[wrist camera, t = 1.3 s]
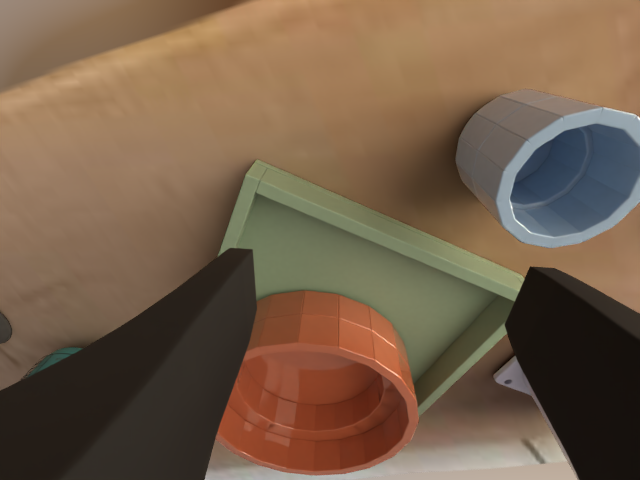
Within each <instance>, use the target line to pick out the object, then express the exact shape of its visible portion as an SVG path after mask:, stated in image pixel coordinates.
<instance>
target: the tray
mask: <svg viewBox="0 0 640 480" xmlns="http://www.w3.org/2000/svg"><path fill="white" fill-rule="evenodd" d="M229 248H243V249H253V259H254V273H255V287H256V300H257V301H258V300H261V299H263V298H265V297H268V296H270V295H273V294H280V293H287V292H294V291H302V290H304V291H305V290H308V291H317V292H326V293H334V294H338V295H342V296H345V297H347V298H350V299H352V300H355V301H358V302H360V303H363V304H366V305H368V306H370V307H371V308H373V309H374V310H375V311H377V312H378V313H379V314H380V315H382V316H383V317H384V318H386V319H387V320H388V321H390V322H391V323H392V324H393V326H394V328H395V329H396V331H397V332H398V334H399V336H400V337H401V339H402V340H403V342H404V344H405V348H406V353H407V358H408V362H409V367H410V371H411V376H412V381H413V385H414V390H415V395H416V399H417V407H418V416H420V415H421V414H422V413H423V412H424V411H426V410H427V409H428V408H429V407H430V406H431V405H432V404H433V403H434V402H435V401H436V400H437V399H438V398H439V397H440V396H441V395H442V394H443V393H444V392H446V391H447V390H448V389H449V388H450V387H451V386H452V385H453V384H454V383H455V382H456V381H457V380H458V379H459V378H460V377H461V376H462V375H463V374H464V373H465V372H467V371H468V370H469V369H470V368H471V367H472V366H473V365H474V364H475V363H476V362H477V361H478V360H479V359H480V358H481V357H482V356H483V355H484V354H485V353H487V352H488V351H489V350H490V349H491V348H492V347H493V346H494V345H495V344H496V343H497V342H498V341H499V340H500V339H501V338H502V337H503V336H504V335H505V334H507V331H506V328H505V322H506V320H507V318H508V316H509V313H510V311H511V309H512V307H513V304H514V302H515V300H516V297H517V295H518V293H519V291H520V288H521V286H522V284H523V282H524V278H523V277H522V275H521V274H519V273H516V272H514V271H512V270H509V269H507V268H505V267H503V266H500V265H498V264H496V263H493V262H491V261H489V260H487V259H484V258H482V257H480V256H477V255H475V254H473V253H471V252H468V251H466V250H464V249H461V248H459V247H457V246H455V245H452V244H450V243H448V242H445V241H443V240H441V239H439V238H436V237H434V236H432V235H429V234H427V233H425V232H423V231H420V230H418V229H416V228H413V227H411V226H409V225H407V224H404V223H402V222H400V221H397V220H395V219H393V218H391V217H388V216H386V215H384V214H381V213H379V212H377V211H375V210H372V209H370V208H368V207H365V206H363V205H361V204H359V203H356V202H354V201H352V200H349V199H347V198H345V197H343V196H340V195H338V194H336V193H333V192H331V191H329V190H327V189H324V188H322V187H320V186H317V185H315V184H313V183H311V182H308V181H306V180H304V179H301V178H299V177H297V176H295V175H292V174H290V173H288V172H285V171H283V170H281V169H279V168H276V167H274V166H272V165H269V164H267V163H265V162H263V161H260V160H258V159H257V160H256V161H255V162H254V163H253V165H252V166H251V168H250V169H249V170H248V172H247V173H246V175H245V177H244V180H243V183H242V186H241V189H240V192H239V195H238V198H237V201H236V204H235V207H234V210H233V213H232V216H231V218H230V221H229V224H228V227H227V230H226V233H225V236H224V239H223V242H222V245H221V248H220V251H219V254H218V256H219V255H221V254H222V253H223V252H225V251H226V250H227V249H229Z"/></svg>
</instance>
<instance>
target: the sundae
mask: <svg viewBox="0 0 640 480" xmlns="http://www.w3.org/2000/svg"><path fill="white" fill-rule="evenodd" d="M11 331H12V330H11V326H10V324H9V322H8V320H7V319H6V318H5V317H4V315H3V314H2V313H1V312H0V344H1V343H5V342H6V341H8V340H9V339H10V337H11Z"/></svg>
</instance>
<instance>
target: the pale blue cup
mask: <svg viewBox="0 0 640 480" xmlns="http://www.w3.org/2000/svg"><path fill="white" fill-rule="evenodd" d="M455 160H456V165H457V168H458V171H459V174H460V177H461V180H462V181H463V183H464V184H465V185H466V186H467V187H468V188H469V190H470V191H471V192H472V193H473V194H474V195H475V196H476V197H477V199H478V200H479V201H480V202H481V203H482V204H483V205H484V206H485V208H486V209H487V210H488V211H489V212H490V213H491V214H492V216H493V217H494V218H495V219H496V220H497V221H498V222H499V223H500V225H501V226H502V227H503V228H504V229H506V230H507V231H508V232H509V233H510V234H512V235H513V236H514V237H515V238H516V239H518V240H519V241H520V242H522V243H526V244H531V245H536V246H541V247H546V248H554V247H560V246H566V245H572V244H577V243H582V242H585V241H587V240H588V239H590V238H592V237H594V236H596V235H598V234H600V233H602V232H604V231H606V230H608V229H610V228H612V227H614V225H616V224H617V223H618V222H620V221H621V220H622V219H623V218H624V217H625V216H626V215H627V214H628V213H629V212H630V211H631V210H632V209H633V208H634V207H635V206H636V205H637V204H638V203H639V202H640V118H639V117H638V116H637V115H635V114H633V113H629V112H625V111H620V110H616V109H612V108H608V107H604V106H600V105H595V104H591V103H587V102H583V101H579V100H574V99H570V98H566V97H562V96H558V95H554V94H549V93H545V92H541V91H536V90H532V89H523V90H519V91H515V92H511V93H507V94H503V95H500V96H499V97H497V98H495V99H494V100H492V101H491V102H489V103H487V104H486V105H484V106H483V107H482V108H480V109H479V110H478V111H477V112H476V113H475V114H474V115H473V116H472V117H471V118H470V120H469V121H468V123H467V124H466V126H465V127H464V129H463V131H462V133H461V135H460V137H459V141H458V147H457V153H456V158H455Z"/></svg>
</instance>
